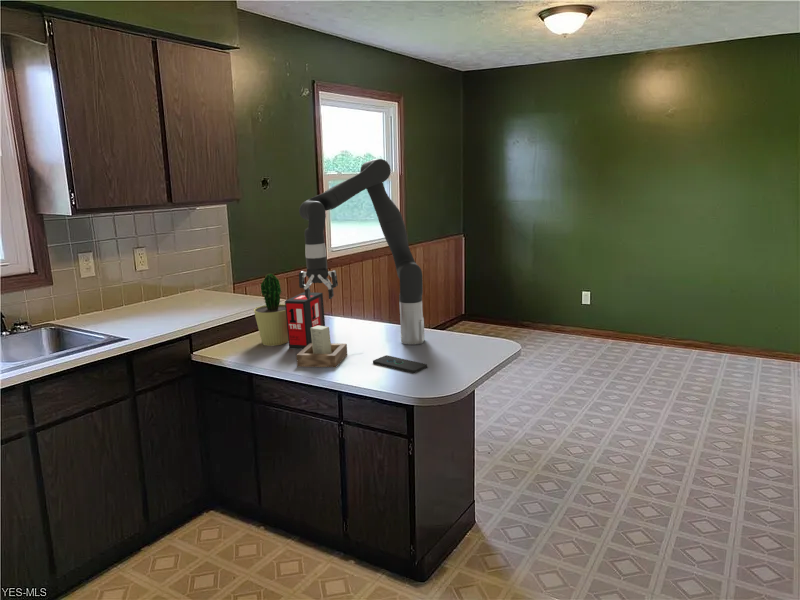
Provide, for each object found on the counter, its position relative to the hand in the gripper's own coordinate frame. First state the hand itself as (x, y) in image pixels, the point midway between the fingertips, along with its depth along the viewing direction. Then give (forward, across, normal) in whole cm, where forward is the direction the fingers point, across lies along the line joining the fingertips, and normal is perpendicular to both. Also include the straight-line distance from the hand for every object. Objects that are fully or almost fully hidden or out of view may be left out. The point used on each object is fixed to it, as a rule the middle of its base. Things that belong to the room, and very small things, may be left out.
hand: (319, 298), depth 226 cm
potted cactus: (+24, +29, -22) cm, 44 cm away
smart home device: (+25, -30, +4) cm, 39 cm away
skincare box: (+23, +1, +1) cm, 23 cm away
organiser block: (+24, 0, +1) cm, 24 cm away
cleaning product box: (+24, +14, -21) cm, 35 cm away
